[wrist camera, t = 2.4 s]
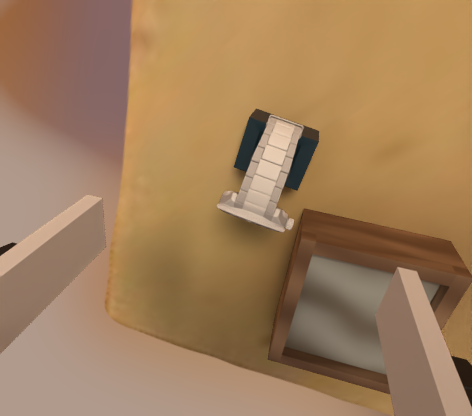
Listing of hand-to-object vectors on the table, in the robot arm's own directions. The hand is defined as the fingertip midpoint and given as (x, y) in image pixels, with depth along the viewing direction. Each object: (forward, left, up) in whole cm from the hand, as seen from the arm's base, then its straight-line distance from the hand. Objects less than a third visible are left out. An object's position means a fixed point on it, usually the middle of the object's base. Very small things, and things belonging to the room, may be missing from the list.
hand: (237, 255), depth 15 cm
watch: (0, 0, -17) cm, 17 cm away
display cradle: (+13, +10, -16) cm, 23 cm away
